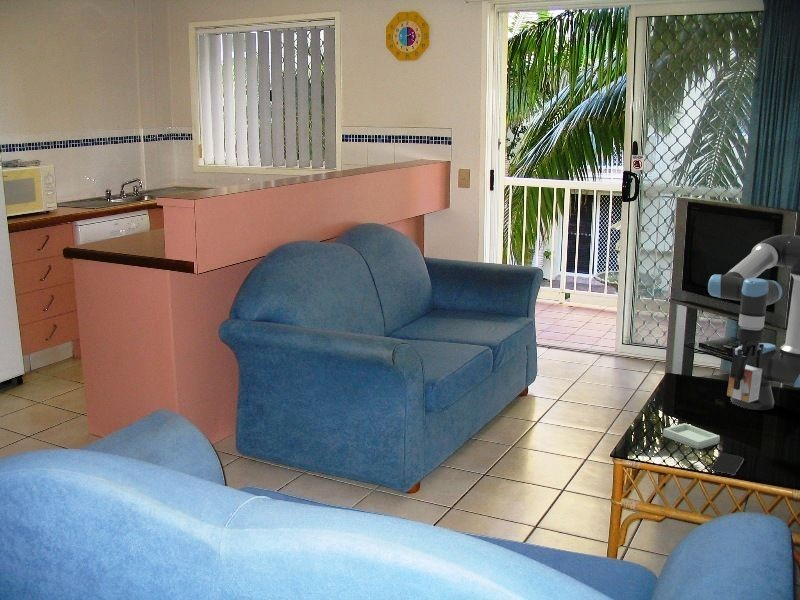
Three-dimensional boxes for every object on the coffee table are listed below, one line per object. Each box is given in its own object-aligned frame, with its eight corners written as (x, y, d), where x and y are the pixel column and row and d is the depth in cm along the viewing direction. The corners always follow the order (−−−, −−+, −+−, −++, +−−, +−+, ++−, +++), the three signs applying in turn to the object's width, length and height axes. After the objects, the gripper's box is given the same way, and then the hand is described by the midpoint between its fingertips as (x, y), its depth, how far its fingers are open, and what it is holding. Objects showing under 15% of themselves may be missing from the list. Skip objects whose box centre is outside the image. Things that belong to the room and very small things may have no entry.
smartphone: (709, 469, 263) (720, 452, 275) (709, 472, 263) (720, 455, 276) (734, 475, 259) (744, 457, 272) (734, 478, 259) (744, 461, 272)
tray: (684, 429, 297) (684, 423, 296) (719, 443, 286) (719, 435, 285) (662, 435, 291) (663, 428, 290) (697, 449, 279) (698, 442, 279)
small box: (726, 396, 282) (730, 364, 279) (736, 393, 285) (740, 362, 283) (748, 402, 275) (752, 371, 273) (758, 399, 279) (762, 368, 276)
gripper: (757, 321, 283) (749, 389, 288) (722, 328, 273) (715, 398, 278) (778, 326, 277) (769, 395, 282) (743, 333, 267) (735, 405, 272)
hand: (742, 396), depth 280 cm, fingers closed on small box, 6 cm apart
